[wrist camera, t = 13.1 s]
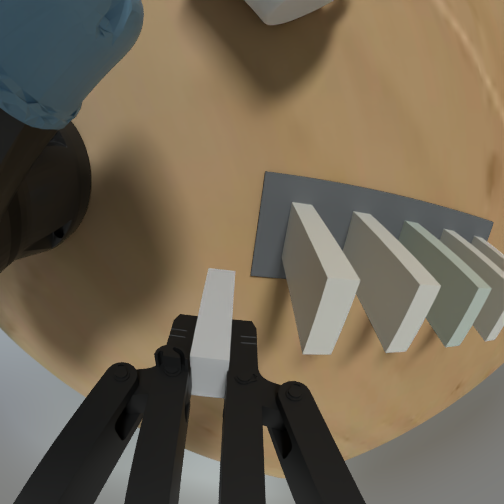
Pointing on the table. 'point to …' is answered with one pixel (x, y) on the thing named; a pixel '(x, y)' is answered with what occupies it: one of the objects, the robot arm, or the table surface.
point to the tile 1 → (317, 280)
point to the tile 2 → (389, 282)
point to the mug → (284, 9)
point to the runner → (345, 215)
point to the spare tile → (447, 284)
